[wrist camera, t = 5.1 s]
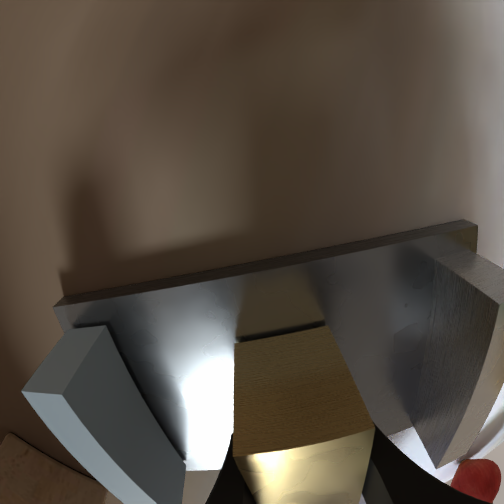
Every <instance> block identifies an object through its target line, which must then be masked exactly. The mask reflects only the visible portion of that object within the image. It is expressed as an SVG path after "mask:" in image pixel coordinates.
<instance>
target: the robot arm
mask: <svg viewBox="0 0 504 504" xmlns="http://www.w3.org/2000/svg"><path fill="white" fill-rule="evenodd" d="M373 424H374V426H375V433H374V438H373V444H372V449H371V454H370V459H369V464H368V468H367V473H366V477H365V481H364V486H363V490H362V493H361V497H360V501H359V504H492V503H489V502H486V501H483V500H480V499H477V498H475V497H472V496H470V495H467V494H465V493H463V492H460V491H458V490H457V489H455V488H453V487H451V486H449V485H447V484H445V483H443V482H442V481H440V480H438V479H437V478H435V477H434V476H432V475H431V474H429V473H428V472H426V471H425V470H423V469H422V468H421V467H419V466H418V465H417V464H416V463H414V462H413V461H412V460H411V459H410V458H408V457H407V456H406V455H405V454H404V453H403V452H402V451H400V450H399V449H398V448H397V447H396V446H395V445H394V444H393V443H392V442H391V441H390V440H389V439H388V438H387V437H386V436H385V435H384V433H383V432H382V431H381V430H380V429H379V428H378V427H377V426H376V424H375V423H374V422H373ZM205 504H257V502H256V500H255V499H254V497H253V495H252V493H251V491H250V489H249V487H248V486H247V484H246V482H245V480H244V478H243V476H242V474H241V472H240V470H239V468H238V466H237V464H236V462H235V460H234V458H233V433H232V434H231V438H230V442H229V446H228V450H227V453H226V456H225V459H224V462H223V465H222V468H221V470H220V473H219V475H218V478H217V480H216V483H215V485H214V487H213V489H212V491H211V493H210V495H209V497H208V499H207V501H206V503H205Z"/></svg>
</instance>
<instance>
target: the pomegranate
mask: <svg viewBox="0 0 504 504" xmlns="http://www.w3.org/2000/svg"><path fill="white" fill-rule="evenodd" d="M500 483H501V472H500V469H499V467H498V465H497V464H495V463H494V462H493V461H491V460H488V459H466V460H463V461H462V462H461V463H460V464H459V466H458V469H457V471H456V473H455V475H454V478H453V480H452V483H451V487H453V488H455V489H457V490H458V491H460V492H463V493H465V494H467V495H470V496H472V497H475V498H477V499H480V500H483V501H486V502H489V503H493V500H494V498H495V497H496V495H497V493H498V491H499V487H500Z"/></svg>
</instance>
